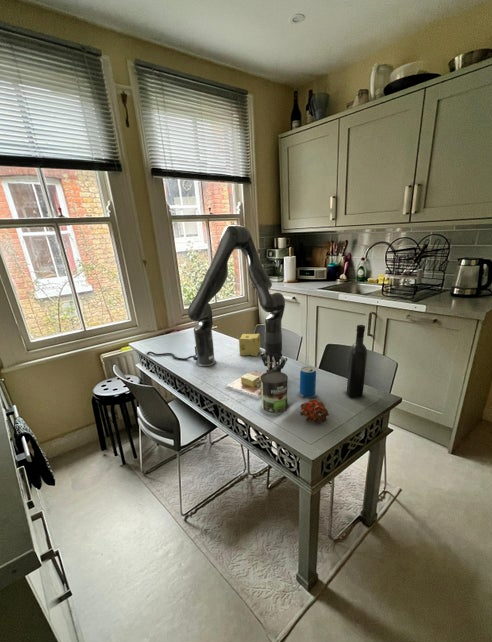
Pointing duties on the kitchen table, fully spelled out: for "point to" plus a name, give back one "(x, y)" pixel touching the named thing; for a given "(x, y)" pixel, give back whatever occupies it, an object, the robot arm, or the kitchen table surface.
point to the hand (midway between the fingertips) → (273, 376)
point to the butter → (249, 379)
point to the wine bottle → (357, 365)
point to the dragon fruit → (314, 411)
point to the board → (247, 388)
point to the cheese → (249, 344)
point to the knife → (266, 372)
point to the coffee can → (274, 392)
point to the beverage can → (307, 382)
